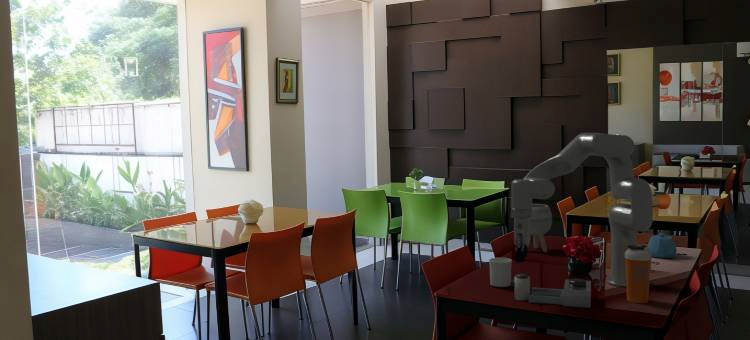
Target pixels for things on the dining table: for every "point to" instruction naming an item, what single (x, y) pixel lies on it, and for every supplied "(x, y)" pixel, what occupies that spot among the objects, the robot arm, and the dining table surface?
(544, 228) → the grey tooth model
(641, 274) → the shaker bottle
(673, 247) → the teapot
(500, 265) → the mug
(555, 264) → the dining table surface
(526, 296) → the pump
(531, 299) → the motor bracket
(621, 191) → the robot arm
